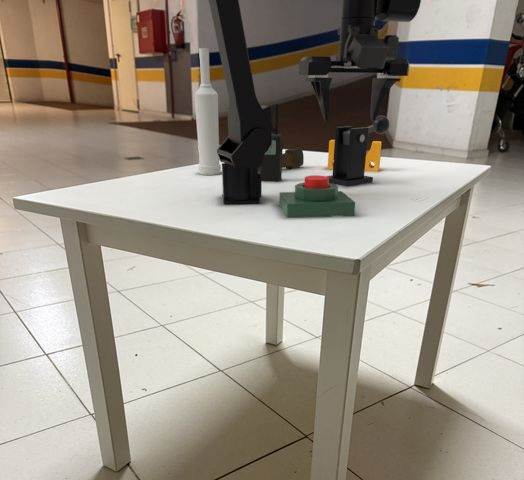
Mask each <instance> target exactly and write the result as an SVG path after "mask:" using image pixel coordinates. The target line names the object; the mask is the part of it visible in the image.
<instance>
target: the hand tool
mask: <svg viewBox="0 0 524 480" xmlns="http://www.w3.org/2000/svg"><path fill="white" fill-rule="evenodd" d="M304 155H305V154H304V152H303V149H302V148H301V147H294V148H286V149H285V150H284V152H283V153H282V169H284V168H285V169H286V170H295V169H298V168H301V167H302V166H304V164H305V163H304V159H305V158H304V157H305V156H304ZM258 172H259V167H258Z"/></svg>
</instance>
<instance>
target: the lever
mask: <svg viewBox="0 0 524 480" xmlns="http://www.w3.org/2000/svg"><path fill="white" fill-rule="evenodd" d="M366 128H369V129H368V134H370V133H373V132H374V133H375V134H377V135H383V134H385V133H386V132H387V131H388V130H389V128H390V120H389V118H388V117H387V116H385V115H381V114H380V115H377V117H376V119H375V121H372V124H371V125H369V126H366ZM342 134H343V145H349V137H350V130H347V131H345V132H343V133H342Z"/></svg>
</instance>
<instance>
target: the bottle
mask: <svg viewBox="0 0 524 480" xmlns="http://www.w3.org/2000/svg"><path fill="white" fill-rule="evenodd" d="M198 54H199V66H200V67H199V69H200V85H199V88H198V89H197V91H195V92H194V95H193V96H194V107H195V108H194V109H195V120H196V121H195V122H196V134H197V148H198V160H199V164H198V172H199V174H200V175H203V176H216V175H221V171H222V164H220V159H219V157H218V154H217V149H218V148H219V147H220V136H219V135H220V134H219V131H220V130H219V128H220V127H219V126H220V125H219V94H218V92H217V91H216V90H215V89H214V88H213V85H212V84H211V73H210V48H209V47H199V48H198Z"/></svg>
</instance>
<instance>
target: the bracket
mask: <svg viewBox="0 0 524 480" xmlns="http://www.w3.org/2000/svg"><path fill="white" fill-rule="evenodd" d="M366 127H367V126H366ZM366 127H355V126H354V125H347V126H346V125H345V126H336V127H335V132H334V133H335V134H334V140H335V146H334V160H333V169H332V174H330V175H326V176H327V177H329V183H331V184H335V185H337V186H342V187H344V188H345V187H346V188H348V187H353V186H359V185H364V184H365V185H366V184H372V183H373V182H374V176H369V175H365V172H366V171H365V161H366V154H367V149H368V139H369V133H368V129H369V128H366ZM347 130H350V137H349V145H343V134H342V133H343V132H345V131H347Z"/></svg>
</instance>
